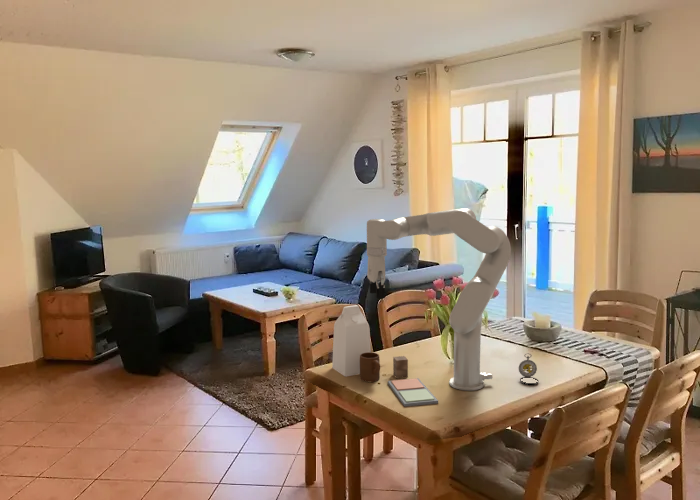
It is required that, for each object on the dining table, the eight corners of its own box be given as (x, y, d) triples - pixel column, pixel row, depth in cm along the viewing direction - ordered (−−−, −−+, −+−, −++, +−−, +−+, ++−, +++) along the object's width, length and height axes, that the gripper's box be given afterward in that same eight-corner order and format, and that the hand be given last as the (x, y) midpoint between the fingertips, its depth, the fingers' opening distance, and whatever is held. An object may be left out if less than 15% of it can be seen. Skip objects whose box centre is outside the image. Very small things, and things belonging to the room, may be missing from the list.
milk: (358, 363, 244) (357, 301, 240) (372, 371, 234) (371, 307, 230) (332, 367, 239) (331, 305, 235) (345, 376, 229) (344, 311, 225)
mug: (388, 384, 220) (388, 360, 218) (369, 387, 217) (369, 363, 215) (374, 374, 231) (374, 351, 229) (356, 377, 228) (356, 353, 226)
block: (404, 373, 232) (404, 356, 231) (407, 377, 227) (407, 359, 226) (393, 374, 231) (393, 356, 230) (396, 378, 226) (396, 360, 225)
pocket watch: (528, 387, 215) (529, 360, 214) (512, 379, 223) (513, 354, 221) (545, 383, 219) (546, 357, 218) (528, 376, 227) (529, 350, 225)
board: (418, 380, 223) (418, 377, 223) (438, 403, 202) (438, 399, 202) (387, 383, 221) (387, 379, 221) (404, 406, 199) (404, 402, 199)
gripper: (361, 249, 232) (362, 291, 235) (372, 255, 215) (373, 301, 218) (380, 248, 234) (380, 290, 236) (392, 254, 217) (392, 299, 219)
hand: (377, 295), depth 227 cm, fingers open, 9 cm apart
